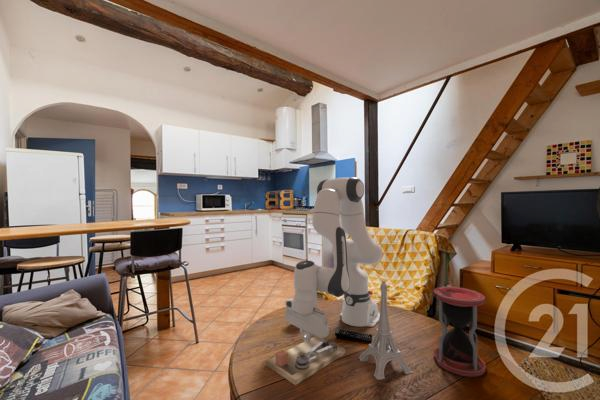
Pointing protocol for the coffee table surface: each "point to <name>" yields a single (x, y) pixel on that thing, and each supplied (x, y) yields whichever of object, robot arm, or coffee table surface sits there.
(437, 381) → the coffee table surface
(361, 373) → the coffee table surface
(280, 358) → the salmon pink block
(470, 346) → the hourglass
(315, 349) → the tong arm
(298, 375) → the board
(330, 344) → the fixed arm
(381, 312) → the eiffel tower
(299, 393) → the coffee table surface
